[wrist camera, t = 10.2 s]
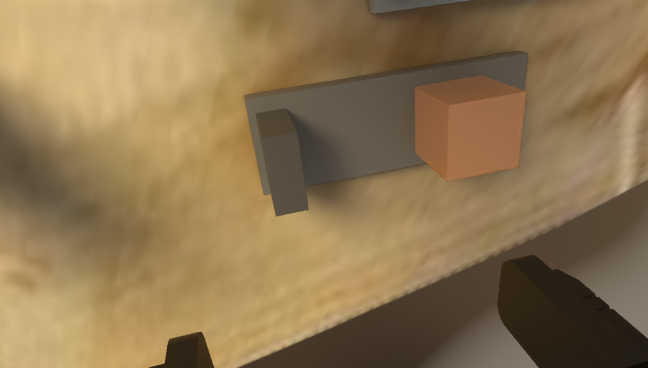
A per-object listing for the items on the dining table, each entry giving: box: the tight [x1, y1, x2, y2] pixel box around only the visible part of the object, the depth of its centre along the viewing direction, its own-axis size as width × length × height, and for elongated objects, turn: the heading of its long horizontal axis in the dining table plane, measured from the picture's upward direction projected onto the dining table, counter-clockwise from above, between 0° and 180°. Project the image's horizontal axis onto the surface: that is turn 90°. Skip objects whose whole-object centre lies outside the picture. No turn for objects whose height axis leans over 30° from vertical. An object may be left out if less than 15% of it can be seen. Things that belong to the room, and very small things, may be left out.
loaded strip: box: [244, 51, 528, 216], centre depth 28 cm, size 20×7×6 cm, turn 96°
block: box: [415, 75, 526, 181], centre depth 28 cm, size 5×5×5 cm
